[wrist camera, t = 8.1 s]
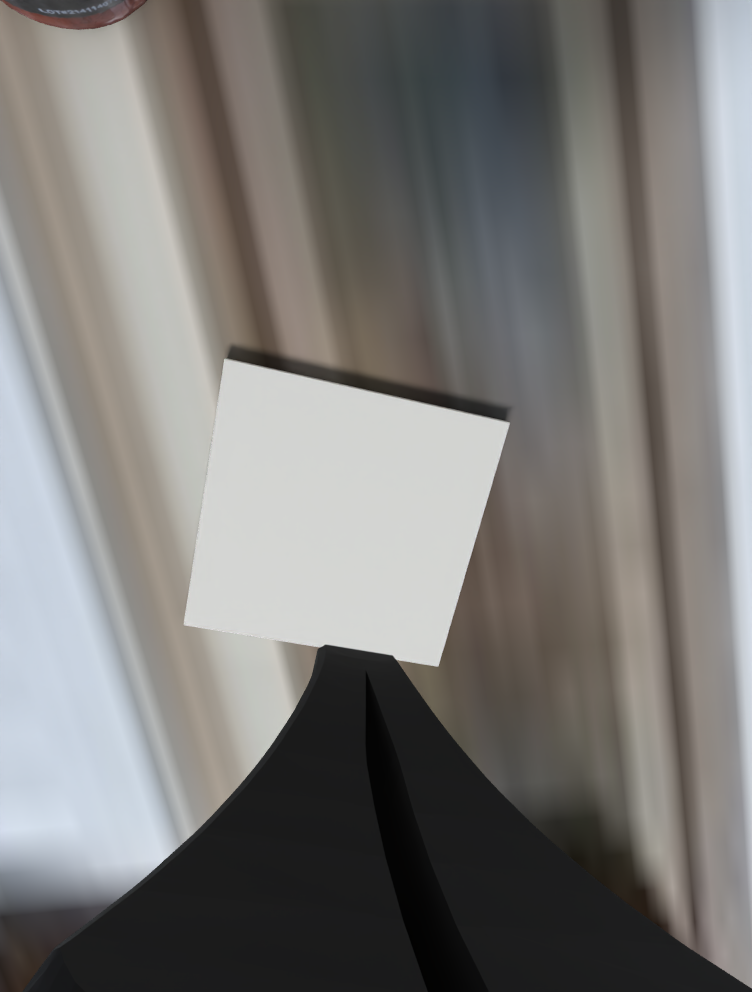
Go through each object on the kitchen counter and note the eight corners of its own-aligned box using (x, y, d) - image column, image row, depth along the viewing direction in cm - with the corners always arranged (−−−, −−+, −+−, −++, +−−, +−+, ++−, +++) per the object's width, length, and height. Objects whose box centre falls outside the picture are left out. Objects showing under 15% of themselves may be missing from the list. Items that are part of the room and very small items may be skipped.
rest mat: (186, 619, 20) (183, 625, 19) (226, 357, 17) (224, 358, 17) (436, 660, 21) (438, 666, 21) (506, 421, 19) (509, 422, 18)
